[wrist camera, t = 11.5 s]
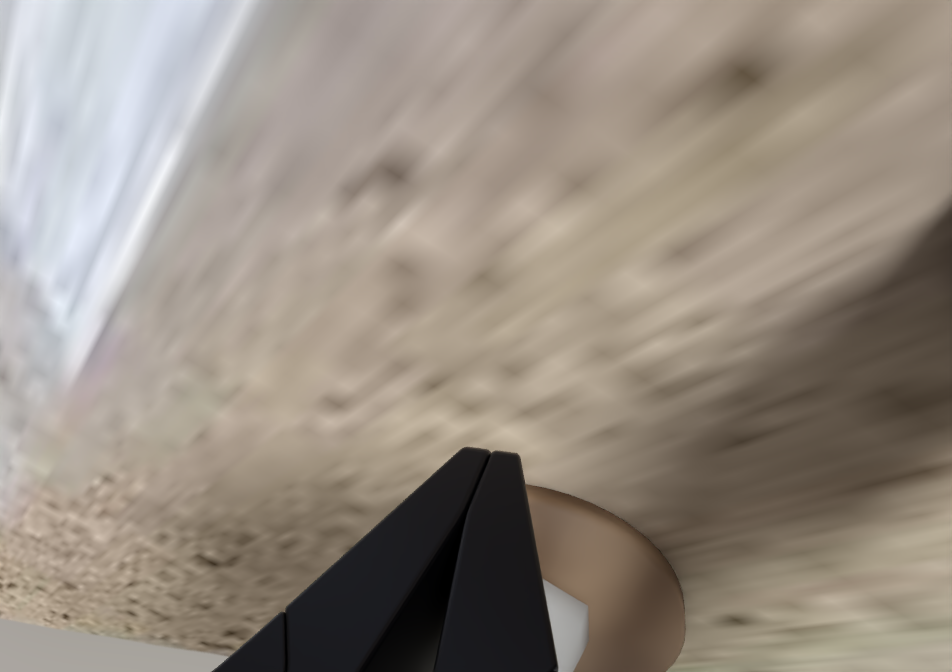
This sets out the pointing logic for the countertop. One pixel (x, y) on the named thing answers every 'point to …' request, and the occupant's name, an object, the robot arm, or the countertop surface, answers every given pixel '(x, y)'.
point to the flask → (567, 626)
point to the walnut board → (610, 583)
